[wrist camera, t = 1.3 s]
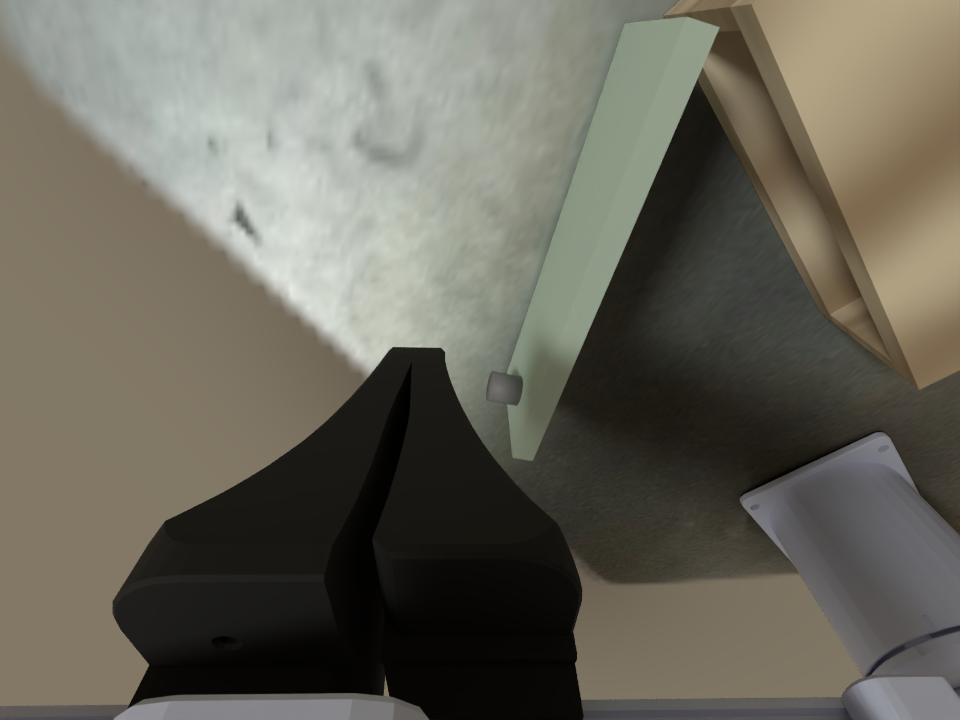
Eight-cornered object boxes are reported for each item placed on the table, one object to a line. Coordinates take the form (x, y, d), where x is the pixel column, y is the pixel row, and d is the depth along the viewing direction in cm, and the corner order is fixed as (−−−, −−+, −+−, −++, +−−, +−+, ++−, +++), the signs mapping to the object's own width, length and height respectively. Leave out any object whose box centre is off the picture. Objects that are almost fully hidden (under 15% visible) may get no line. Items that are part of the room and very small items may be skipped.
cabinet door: (521, 382, 22) (532, 461, 18) (480, 374, 22) (482, 452, 18) (649, 30, 14) (719, 27, 10) (588, 12, 14) (636, 0, 10)
